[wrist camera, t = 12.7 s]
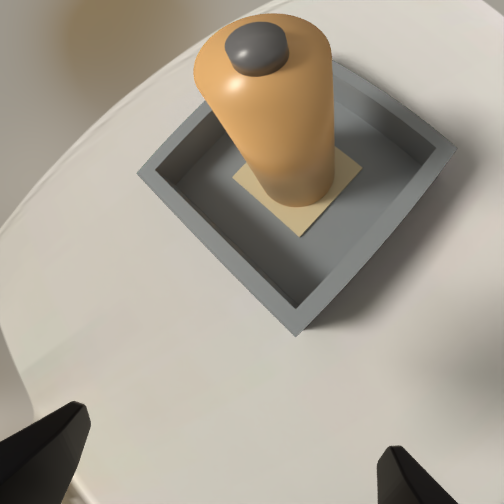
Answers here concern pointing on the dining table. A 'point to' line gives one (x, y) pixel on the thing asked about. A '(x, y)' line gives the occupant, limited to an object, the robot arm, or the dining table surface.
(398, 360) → the dining table surface
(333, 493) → the dining table surface
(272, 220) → the gray square tray
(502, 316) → the dining table surface
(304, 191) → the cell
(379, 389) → the dining table surface
